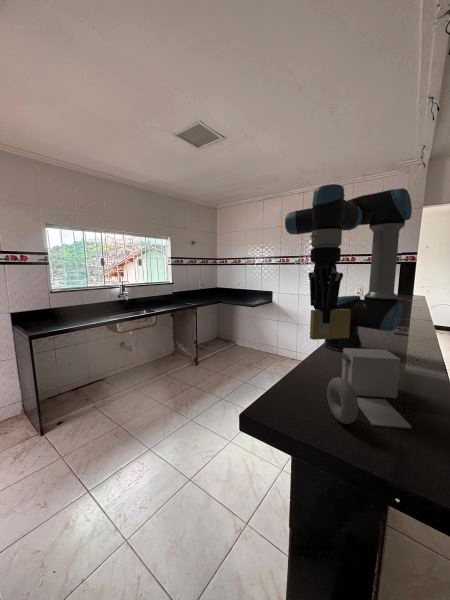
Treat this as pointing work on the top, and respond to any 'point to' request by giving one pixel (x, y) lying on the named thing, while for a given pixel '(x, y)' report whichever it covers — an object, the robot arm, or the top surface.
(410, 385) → the top surface
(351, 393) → the donut
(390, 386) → the large beige block
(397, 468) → the top surface
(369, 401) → the mat
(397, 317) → the robot arm
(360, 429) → the top surface
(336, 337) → the yellow rectangular slab
